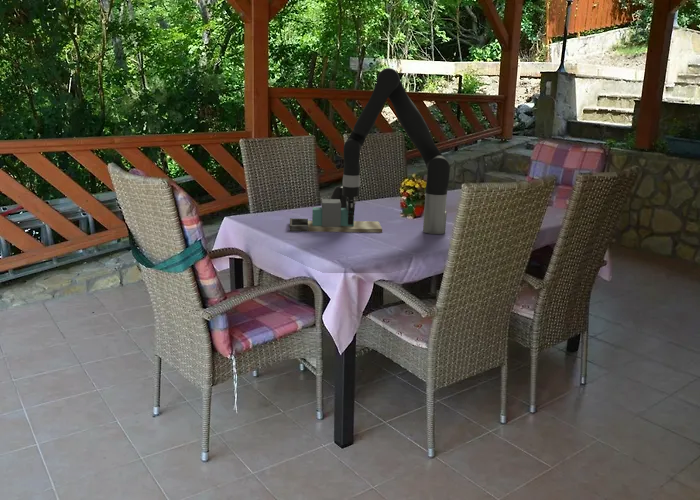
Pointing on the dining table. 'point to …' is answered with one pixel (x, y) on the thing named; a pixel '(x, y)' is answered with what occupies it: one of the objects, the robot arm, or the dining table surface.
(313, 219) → the teal pillar
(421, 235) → the dining table surface
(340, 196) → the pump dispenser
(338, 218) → the tunnel
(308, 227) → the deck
